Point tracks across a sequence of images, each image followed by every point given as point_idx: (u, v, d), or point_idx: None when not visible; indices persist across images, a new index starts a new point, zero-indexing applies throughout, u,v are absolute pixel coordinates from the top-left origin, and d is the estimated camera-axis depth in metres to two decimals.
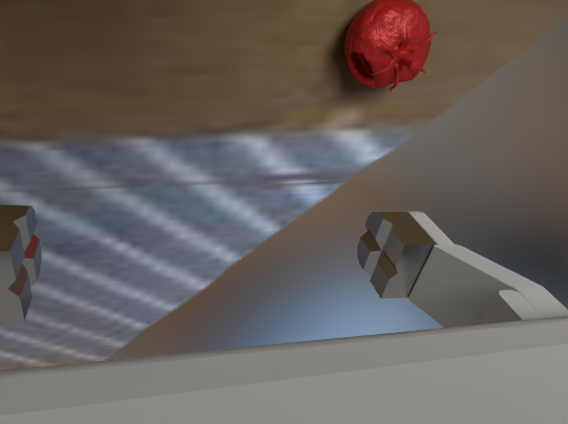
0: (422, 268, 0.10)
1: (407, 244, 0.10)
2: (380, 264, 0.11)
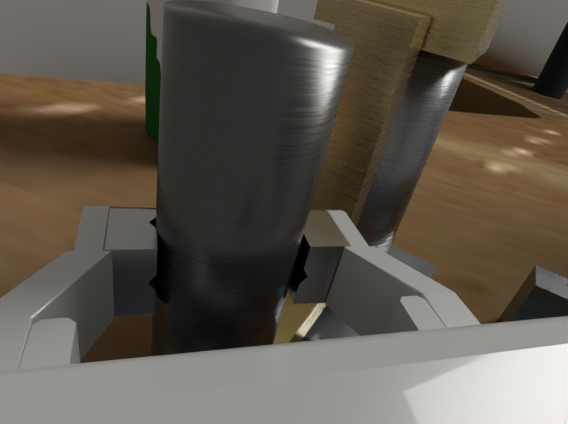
0: (336, 271, 0.09)
1: (314, 245, 0.09)
2: None
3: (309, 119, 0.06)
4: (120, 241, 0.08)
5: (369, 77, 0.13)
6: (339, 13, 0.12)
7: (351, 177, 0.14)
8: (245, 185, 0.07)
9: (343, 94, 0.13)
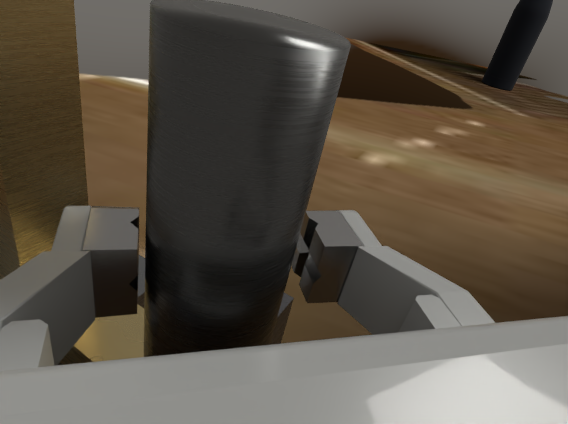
0: (349, 270, 0.10)
1: (328, 245, 0.09)
2: (307, 266, 0.10)
3: None
4: (99, 241, 0.08)
5: (42, 26, 0.10)
6: None
7: (70, 147, 0.12)
8: None
9: (19, 60, 0.10)
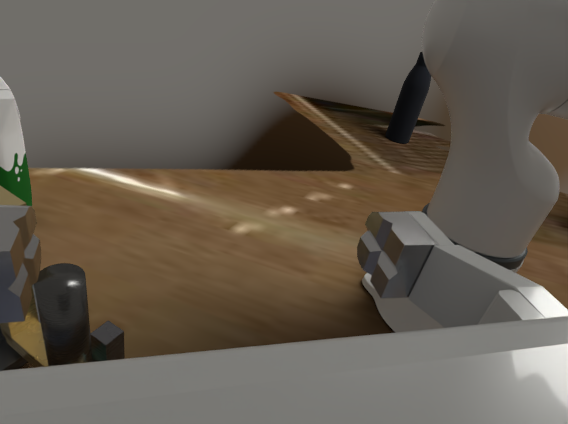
0: (422, 268, 0.10)
1: (407, 244, 0.10)
2: (380, 264, 0.11)
3: (85, 283, 0.30)
4: None
5: None
6: None
7: None
8: (86, 303, 0.30)
9: None
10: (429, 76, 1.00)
